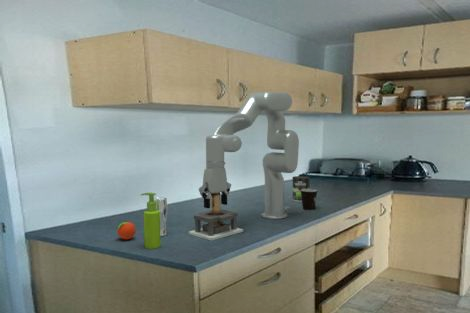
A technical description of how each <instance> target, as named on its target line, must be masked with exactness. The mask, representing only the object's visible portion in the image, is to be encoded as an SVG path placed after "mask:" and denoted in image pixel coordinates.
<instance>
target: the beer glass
mask: <svg viewBox="0 0 470 313" xmlns="http://www.w3.org/2000/svg"><path fill="white" fill-rule="evenodd" d="M154 201H155V202H156V210H158V211H160V237H165V236H167V235H168V233H167V227H166V226H167V225H166V224H167V217H168V201H167V197H154Z"/></svg>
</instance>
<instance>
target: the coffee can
mask: <svg viewBox="0 0 470 313" xmlns="http://www.w3.org/2000/svg"><path fill="white" fill-rule="evenodd" d="M310 179H311V177H310V176H304V175H297V176H295V175H294V176H292V199H291V200H292V201H294V202H298V203H299V202H300V203H302V196H301V190H303V189H311V188H310Z"/></svg>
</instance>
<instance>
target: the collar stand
mask: <svg viewBox="0 0 470 313" xmlns="http://www.w3.org/2000/svg"><path fill="white" fill-rule="evenodd" d="M238 214H239V213H238V212H236V211H231V210H226V209H222V208H221V215H220V216H211V209H210V210H207V211H201V212H199V214H193V220H194V230H190V231H188V235H191V236H195V237H198V238H201V239H205V240H209V241H215V240H218V239H223V238H226V237H229V236H233V235H236V234H239V233H243V232H244V229H243V228H240V227H237V217H238ZM229 220H230V224H229V223H224V222H225V221H229ZM216 221H221V226H218V227H214V222H216ZM201 222H204V223H203V224H202V227H201ZM205 222H206V223H205Z"/></svg>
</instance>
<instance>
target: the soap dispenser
mask: <svg viewBox="0 0 470 313" xmlns="http://www.w3.org/2000/svg"><path fill="white" fill-rule="evenodd" d="M140 196H148V201H147V202H146V210H144V211H143V232H144V234H143V236H144V237H143V238H144V242H143V243H144V248H145V249H148V250H152V249H158V248H161V244H162V242H161V237H160V211H158V210H156V202H155V201H154V198H155V196H157V193H155V192H144V193H141V194H140Z"/></svg>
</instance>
